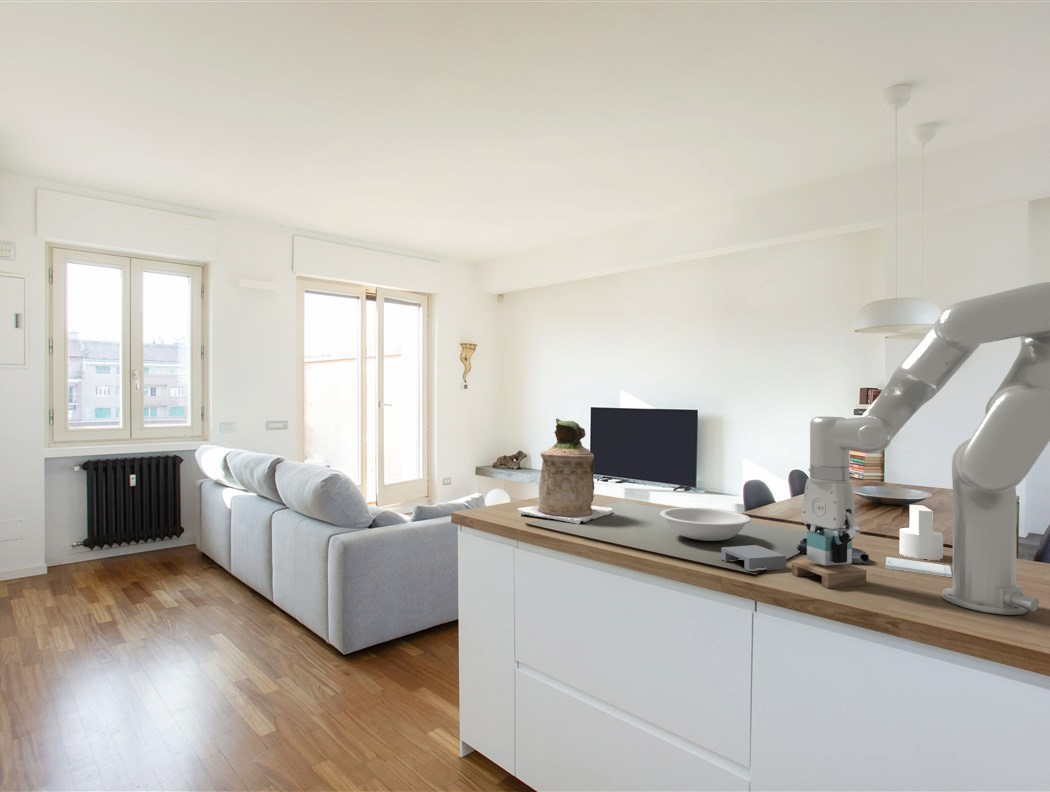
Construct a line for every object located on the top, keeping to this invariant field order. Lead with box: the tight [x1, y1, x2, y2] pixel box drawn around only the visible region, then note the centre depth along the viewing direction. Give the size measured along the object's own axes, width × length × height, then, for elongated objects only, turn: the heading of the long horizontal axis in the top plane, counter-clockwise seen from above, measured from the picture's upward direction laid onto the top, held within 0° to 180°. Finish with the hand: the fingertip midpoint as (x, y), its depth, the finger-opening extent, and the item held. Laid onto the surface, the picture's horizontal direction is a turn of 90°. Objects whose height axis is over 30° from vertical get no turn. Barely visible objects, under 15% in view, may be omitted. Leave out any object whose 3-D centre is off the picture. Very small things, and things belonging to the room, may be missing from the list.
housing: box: [806, 529, 853, 566], centre depth 124 cm, size 7×5×7 cm
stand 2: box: [791, 559, 867, 589], centre depth 124 cm, size 10×10×3 cm
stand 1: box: [720, 544, 787, 571], centre depth 135 cm, size 10×10×3 cm
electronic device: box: [796, 537, 870, 565], centre depth 143 cm, size 9×6×15 cm
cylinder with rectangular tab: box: [898, 504, 944, 559], centre depth 145 cm, size 9×9×12 cm
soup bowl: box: [659, 506, 752, 542], centre depth 160 cm, size 24×24×7 cm
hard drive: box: [884, 556, 953, 578], centre depth 133 cm, size 2×8×12 cm
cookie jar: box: [517, 417, 614, 525], centre depth 193 cm, size 25×25×32 cm
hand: (829, 558), depth 124 cm, fingers closed on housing, 5 cm apart
